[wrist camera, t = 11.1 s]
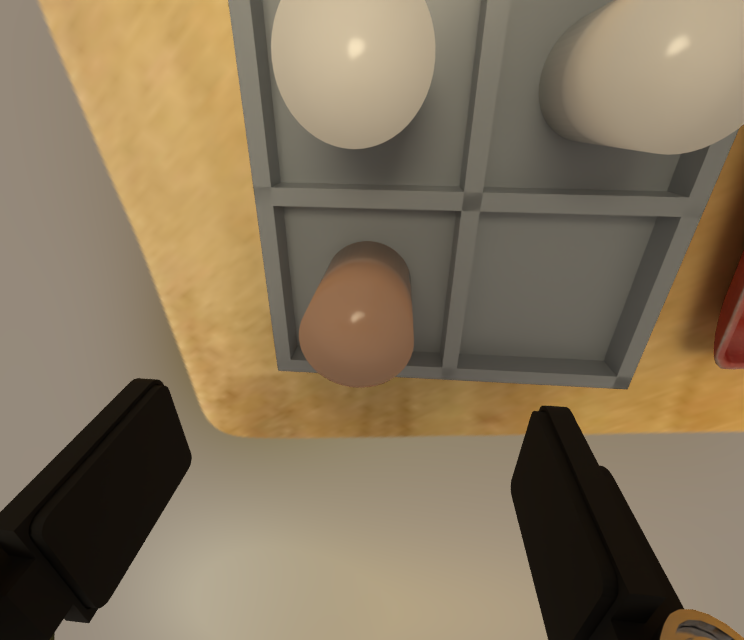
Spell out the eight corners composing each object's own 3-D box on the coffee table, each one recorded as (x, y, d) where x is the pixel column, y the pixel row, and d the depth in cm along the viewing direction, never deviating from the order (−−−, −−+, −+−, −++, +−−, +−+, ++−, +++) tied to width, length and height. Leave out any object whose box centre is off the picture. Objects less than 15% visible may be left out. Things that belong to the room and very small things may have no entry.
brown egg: (323, 239, 19) (293, 286, 14) (413, 242, 19) (417, 291, 14) (327, 318, 21) (303, 384, 16) (408, 322, 21) (410, 390, 16)
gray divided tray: (240, -79, 14) (213, -111, 12) (779, -89, 13) (848, -126, 11) (288, 348, 24) (278, 370, 22) (607, 364, 22) (627, 389, 20)
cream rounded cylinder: (554, 6, 14) (642, -58, 9) (680, 6, 14) (848, -60, 9) (528, 141, 16) (587, 153, 11) (637, 142, 16) (750, 156, 11)
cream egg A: (311, 8, 15) (260, -52, 10) (429, 7, 14) (443, -55, 9) (318, 137, 17) (280, 147, 12) (420, 139, 17) (428, 150, 11)
